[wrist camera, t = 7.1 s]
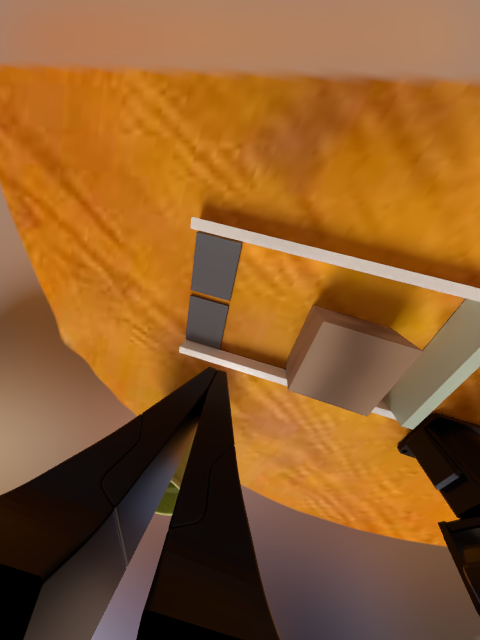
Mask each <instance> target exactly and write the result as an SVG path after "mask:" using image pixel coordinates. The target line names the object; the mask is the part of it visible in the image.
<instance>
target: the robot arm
mask: <svg viewBox="0 0 480 640" xmlns="http://www.w3.org/2000/svg"><path fill="white" fill-rule="evenodd" d="M195 431H196V433H195ZM194 433H195V436H194V440H193V443H192V447H191V451H190V454H189V458H188V461H187V465H186V468H185V472H184V475H183V479H182V482H181V486H180V489H179V493H178V496H177V500H176V503H175V507H174V510H173V514H172V518H171V521H170V524H169V529H168V532H167V535H166V538H165V542H164V545H163V549H162V552H161V556H160V559H159V562H158V566H157V569H156V572H155V575H154V579H153V582H152V585H151V588H150V591H149V595H148V598H147V601H146V604H145V607H144V611H143V613H142V617H141V621H140V626H139V630H138V635H137V639H136V640H281V639H280V637H279V634H278V631H277V629H276V626H275V623H274V621H273V618H272V615H271V612H270V608H269V605H268V601H267V598H266V595H265V591H264V587H263V584H262V580H261V576H260V572H259V568H258V563H257V559H256V554H255V550H254V546H253V541H252V537H251V532H250V527H249V523H248V518H247V514H246V510H245V505H244V500H243V495H242V490H241V485H240V480H239V474H238V467H237V460H236V451H235V446H234V435H233V426H232V417H231V408H230V399H229V390H228V382H227V373H226V372H225V371H221V370H218V371H217V369H215V368H212V367H208V368H207V369H205V370H204V371H203V372H201V373H200V374H198V375H197V376H195V377H194V378H192V379H191V380H189V381H188V382H187V383H185V384H184V385H182V386H181V387H179V388H178V389H176V390H175V391H174V392H172V393H171V394H169V395H168V396H166V397H165V398H163V399H162V400H161V401H159V402H158V403H156V404H155V405H153V406H152V407H150V408H149V409H148V410H146V411H145V412H143V413H142V415H141V414H140V415H139V416H137V417H136V418H134V419H133V420H131V421H130V422H128V423H127V424H125V425H124V426H122V427H121V428H119V429H118V430H116V431H115V432H113V433H112V434H110V435H108V436H107V437H105V438H103V439H102V440H100V441H98V442H97V443H95V444H93V445H92V446H90V447H88V448H86V449H85V450H83V451H81V452H79V453H78V454H76V455H74V456H73V457H71V458H69V459H67V460H66V461H64V462H62V463H60V464H59V465H57V466H55V467H54V468H52V469H50V470H48V471H47V472H45V473H43V474H41V475H40V476H38V477H36V478H34V479H33V480H31V481H29V482H27V483H25V484H23V485H21V486H20V487H17V488H15V489H14V490H11V491H9V492H7V493H5V494H2V495H0V640H91V638H92V636H93V634H94V632H95V630H96V628H97V626H98V624H99V622H100V620H101V618H102V616H103V614H104V612H105V610H106V608H107V606H108V604H109V602H110V600H111V598H112V596H113V594H114V592H115V590H116V588H117V586H118V584H119V582H120V580H121V578H122V576H123V575H124V573H125V571H126V566H128V564H129V562H130V560H131V559H132V557H133V555H134V553H135V551H136V548H137V547H138V544H139V543H140V540H141V538H142V537H143V535H144V533H145V531H146V529H147V527H148V525H149V523H150V521H151V519H152V517H153V515H154V513H155V511H156V509H157V507H158V505H159V503H160V501H161V499H162V497H163V495H164V493H165V491H166V489H167V487H168V485H169V483H170V481H171V479H172V477H173V475H174V473H175V471H176V469H177V467H178V465H179V463H180V461H181V459H182V457H183V455H184V453H185V451H186V449H187V447H188V445H189V443H190V441H191V439H192V437H193V435H194ZM397 449H398V450H399V452H400V453H401V454H404V455H407V456H410V457H413V458H416V459H417V461H418V462H419V464H420V466H421V467H422V469H423V470H424V472H425V473H426V475H427V476H428V478H429V479H430V481H431V482H432V484H433V485H434V487H435V488H436V489H438V490H439V491H440V493H441V494H442V496H443V497H444V499H445V500H446V502H447V503H448V505H449V506H450V508H451V509H452V511H453V512H454V514H455V515H456V517H457V518H460V519H459V520H454V521H450V522H445V521H442V522H438V525H439V527H440V529H441V532H442V534H443V537H444V540H445V542H446V544H447V546H448V549H449V551H450V553H451V555H452V557H453V560H454V562H455V564H456V566H457V568H458V571H459V573H460V575H461V578H462V580H463V582H464V584H465V587H466V589H467V591H468V593H469V595H470V597H471V600H472V602H473V604H474V607H475V609H476V611H477V613H478V614H479V616H480V426H477V425H474V424H471V423H468V422H464V421H461V420H458V419H454V418H451V417H448V416H444V415H441V414H432V415H431V416H430V417H429V418H428V419H426V420H425V421H424V422H423V423H422V424H421V425H420V426H419V427H418V428H417V429H416V430H415V431H414V432H413V433H411V434H410V435H409V436H408V437H407V438H406V439H405V440H404V441H403V442H402V443H401V444H400V445H399V446H398V447H397Z"/></svg>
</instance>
